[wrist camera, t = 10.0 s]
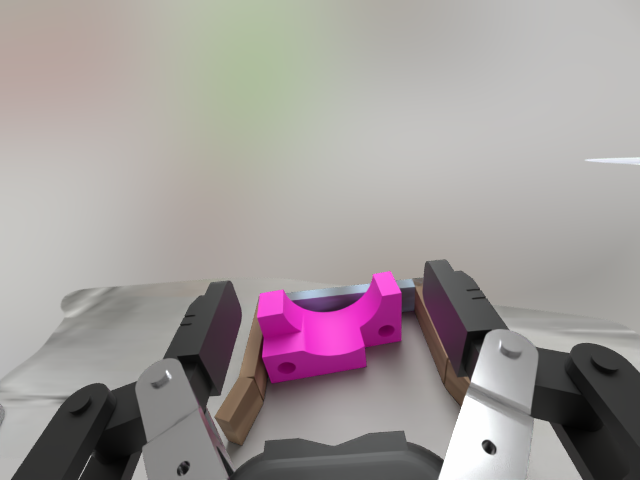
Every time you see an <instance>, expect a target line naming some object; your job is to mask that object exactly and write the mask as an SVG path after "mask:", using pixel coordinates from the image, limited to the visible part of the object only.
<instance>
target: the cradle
mask: <svg viewBox="0 0 640 480" xmlns="http://www.w3.org/2000/svg"><path fill="white" fill-rule="evenodd" d="M423 279H424V277H423V278H415V279H406V280H397V281H396V283H397V285H398V287H399V289H400V291H401V293H402V306H401V312H408V311H415V314H416V316H417V319H418V321H419V324H420V326H421V329H422V331H423V334H424V336H425V339H426V341H427V344H428V346H429V349H430V351H431V354H432V356H433V359H434V362H435V364H436V367H437V369H438V372H439V374H440V377H441V379H442V382H443V384H445V388H446V389H447V390H448V391H449V393H450V394H451V395H452V396H453V397H454V399H455V400H456V401H457V402H458V404H459V405H460V406H461V407H462V405H463V402H464V399H465V396H466V393H467V390H468V387H469V385H470V380H469V378H468V377H457V376H456V374H455V372H454V369H453V367H452V365H451V362H450V360H449V358H448V356H447V353H446V351H445V349H444V347H443V344H442V342H441V340H440V338H439V335H438V333H437V331H436V329H435V326H434V324H433V322H432V320H431V317H430V315H429V313H428V311H427V308H426V306H425V304H424V300H423V293H422V290H423ZM369 286H370V284H363V285H353V286H344V287H335V288H327V289H318V290H309V291H300V292H291V293H285V294H286V295H287V297H288V298H289V299H290V300H291V301H292V302H293V303H295V304H296V305H298V306H299V307H301V308H303V309H306V310H309V311H314V312H333V311H337V310H341V309H344V308H346V307H348V306H350V305H352V304H354V303H355V302H357V301H358V300H359V299H360V298H361V297H362V296H363V295H364V294H365V293H366V291H367V290H368V288H369ZM259 297H260V296H259ZM258 305H259V299H258V303H257V306H256V310H255V314H254V318H253V322H252V326H251V330H250V334H249V338H248V342H247V346H246V350H245V354H244V358H243V362H242V366H241V370H240V374H239V378H238V379H237V381H236V383H235V384H234V386H233V388H232V389H231V391H230V392H229V394H228V396H227V397H226V399H225V401H224V402H223V404H222V405H221V407H220V409H219V410H218V412H217V414H216V415H215V419H216V421H217V422H218V424H219V426H220V427H221V429H222V431H223V432H224V434H225V436H226V438H227V439H228V441H231V442H233V443H236V444H239V445H243V443H244V441H245V439H246V437H247V435H248V433H249V431H250V429H251V427H252V425H253V423H254V421H255V419H256V417H257V415H258V413H259V411H260V409H261V407H262V405H263V401H262V400H264V396H265V390H266V384H267V377H268V372H267V369H266V367H265V364H264V361H263V358H262V353H263V342H264V337H263V334H262V331H261V328H260V325H259V322H258V319H257V313H258Z"/></svg>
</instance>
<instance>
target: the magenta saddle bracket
mask: <svg viewBox="0 0 640 480" xmlns="http://www.w3.org/2000/svg"><path fill="white" fill-rule="evenodd" d="M401 306H402V293H401V291H400V289H399V287H398V285H397V283H396V281H395V279H394V277H393V275H392V273H391V271H389V272H383V273H378V274H373V278H372V282H371V284H370V286H369V288H368V290H367V291H366V293H365V294H364V295H363V296H362V297H361V298H360V299H359V300H358V301H357V302H355V303H354V304H352V305H350V306H348V307H346V308H344V309H341V310H337V311H333V312H314V311H309V310H306V309H303V308H301V307H299V306H298V305H296V304H295V303H293V302H292V301H291V300H290V299H289V298H288V297H287V295H286V294H285V292H284V290H278V291H272V292H266V293H260V297H259V305H258V313H257V319H258V322H259V325H260V328H261V331H262V334H263V337H264V342H263V353H262V358H263V361H264V364H265V367H266V369H267V372H268V375H269V378H270V380H271V383H278V382H283V381H289V380H295V379H301V378H306V377H312V376H318V375H323V374H329V373H335V372H340V371H346V370H352V369H358V368H363V367H366V355H365V347H370V346H376V345H381V344H387V343H393V342H398V341H401Z"/></svg>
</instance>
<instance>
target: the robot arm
mask: <svg viewBox="0 0 640 480" xmlns="http://www.w3.org/2000/svg"><path fill="white" fill-rule="evenodd" d="M422 293H423V300H424V304H425V306H426V308H427V311H428V313H429V315H430V317H431V320H432V322H433V324H434V326H435V329H436V331H437V333H438V335H439V338H440V340H441V342H442V344H443V347H444V349H445V351H446V353H447V356H448V358H449V360H450V362H451V365H452V367H453V369H454V372H455V374H456V376H457V377H468V378H469V380H470V385H469V387H468V390H467V393H466V396H465V399H464V402H463V405H462V408H461V411H460V414H459V417H458V420H457V423H456V426H455V430H454V433H453V436H452V439H451V442H450V445H449V448H448V451H447V454H446V457H445V460H443V459H442V458H440V457H439V456H438V455H436V454H435V453H433V452H431V451H430V450H428V449H426V448H424V447H422V446H419V445H416V444H414V443H410V442H406V438H405V433H404V431H393V432H379V433H368V434H366V435H363V436H361V437H358V438H355V439H353V440H350V441H347V442H345V443H342V444H339V445H336V446H330V445H326V444H321V443H317V442H313V441H308V440H304V439H299V438H296V439H283V440H269V441H265V446H264V452H263V453H261V454H259V455H257V456H255V457H253V458H251V459H250V460H248V461H247V462H245V463H244V464H243V465H242V466H240V467H239V468H238V469H237V470H236V469H235V467H234V465H233V463H232V461H231V459H230V457H229V455H228V453H227V451H226V449H225V447H224V445H223V442H222V440H221V438H220V436H219V433H218V431H217V429H216V427H215V424H214V422H213V420H212V418H211V415H210V413H209V411H208V409H207V407H206V405H207V402H208V399H209V396H220V395H221V391H222V388H223V384H224V381H225V377H226V374H227V370H228V366H229V363H230V359H231V356H232V352H233V349H234V345H235V341H236V338H237V334H238V331H239V327H240V324H241V318H242V312H241V307H240V304H239V301H238V298H237V295H236V293H235V290H234V287H233V284H232V282H231V281H220V282H212V283H210V285H209V287H208V289H207V291H206V293H205V295H203V296H199V297H198V298H197V299H196V300H195V301H194V302H193V303H192V304H191V305H190V306H189V308H188V310H187V312H186V314H185V318H183V320H182V322H181V324H180V325H181V326H180V327H179V328H178V330H177V332H176V334H175V336H174V338H173V340H172V342H171V344H170V346H169V348H168V350H167V352H166V354H165V356H164V358H163V360H160V361H158V362H156V363H154V364H152V365H151V366H149V367H148V368H147V369H146V370H145V371H144V372H143V373H142V374H141V376H140V377H139V379H138V381H136V382H134V383H131V384H128V385H125V386H123V387H120V388H117V389H115V390H112V391H110V390H109V389H108V388H107V386H105V385H104V384H101V383H95V384H91V385H88V386H85V387H83V388H81V389H80V390H78V391H76V392H75V393H74V394H72V395H71V396H70V397H69V398H68V399H67V400H66V401H65V402H64V403H63V404H62V405H61V406H60V408H59V409H58V411H57V412H56V414H55V415H54V417H53V418H52V420H51V421H50V423H49V424H48V426H47V427H46V428H45V430H44V431H43V433H42V434H41V436H40V437H39V439H38V440H37V442H36V443H35V445H34V446H33V448H32V449H31V451H30V452H29V454H28V455H27V457H26V458H25V460H24V461H23V463H22V464H21V466H20V467H19V468H18V470H17V472H16V473H15V474H14V476H13V477H12V479H11V480H78V478H79V476H80V474H81V473H82V471H83V469H84V467H85V465H86V463H87V461H88V459H89V457H90V455H92V456H91V458H90V460H89V462H88V464H87V466H86V468H85V470H84V472H83V473H82V475H81V477H80V479H79V480H131V479H132V476H133V473H134V471H135V468H136V466H137V463H138V461H139V458H140V456H141V453H143V459H144V463H145V468H146V473H147V477H148V480H526V479H527V471H528V464H529V456H530V449H531V441H532V434H533V425H534V418H536V419H540V420H545V421H549V422H550V424H551V426H552V427H553V429H554V431H555V433H556V434H557V436H558V438H559V439H560V441H561V443H562V445H563V446H564V448H565V450H566V452H567V453H568V455H569V457H570V458H571V460H572V462H573V464H574V465H575V467H576V469H577V471H578V472H579V474H580V476H581V477H582V479H583V480H640V373H639V372H638V371H637V369H636V368H635V367H634V366H633V365H632V364H631V363H630V362H629V361H628V360H627V359H625V358H624V357H623V356H621V355H620V354H618V353H617V352H615V351H613V350H611V349H609V348H606V347H604V346H601V345H597V344H592V343H581V344H577V345H575V346H574V347H573V348H572V350H571V352H570V353H565V352H559V351H554V350H548V349H543V348H538V347H535V346H534V345H533V344H532V343H531V341H529V340H528V339H527V338H525V337H524V336H522V335H520V334H519V333H516V332H514V331H510V330H509V329H508V327H507V326H506V325H505V323H504V322H503V320H502V319H501V318H500V316H499V315H498V313H497V312H496V311H495V309H494V308H493V306H492V305H491V304H490V302H489V301H488V299H486V297H485V295H484V294H483V292H482V291H481V290H480V288H479V287H478V285H477V284H476V282H475V281H474V280H473V279H472V278H471V277H470V276H468V275H467V274H465V273H464V272H462V271H454V270H453V269H452V267H451V266H450V264H449V263H448V261H447V260H435V261H427V262H426V263H425V269H424V279H423V290H422ZM3 417H4V409H3V406H2V405H0V424H1V422H2V419H3Z"/></svg>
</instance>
